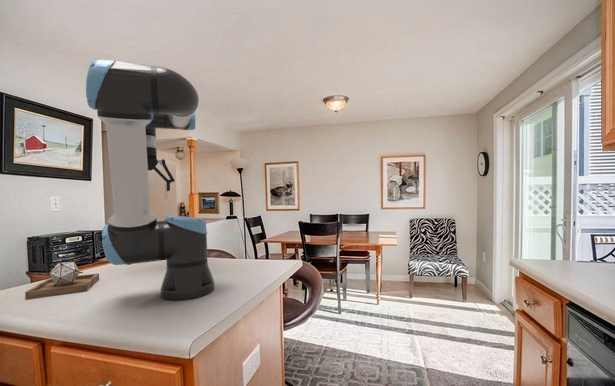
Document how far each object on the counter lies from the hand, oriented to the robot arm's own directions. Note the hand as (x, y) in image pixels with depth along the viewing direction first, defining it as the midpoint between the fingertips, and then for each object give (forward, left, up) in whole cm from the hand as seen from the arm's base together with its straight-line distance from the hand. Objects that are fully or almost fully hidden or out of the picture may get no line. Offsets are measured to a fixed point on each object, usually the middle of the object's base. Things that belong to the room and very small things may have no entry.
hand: (147, 199), depth 116 cm
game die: (-11, +24, -28) cm, 38 cm away
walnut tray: (-12, +24, -29) cm, 39 cm away
